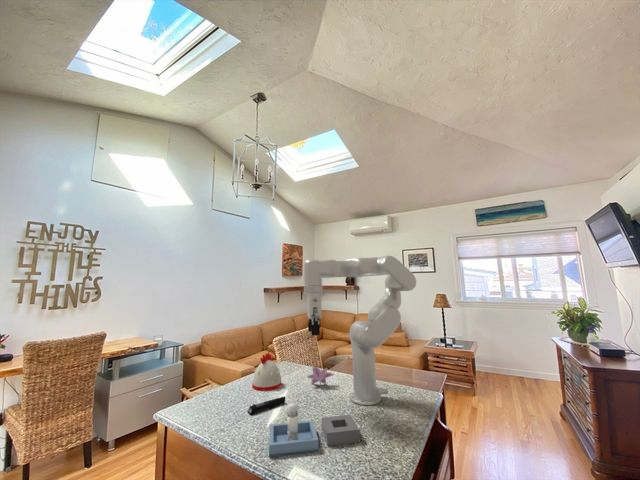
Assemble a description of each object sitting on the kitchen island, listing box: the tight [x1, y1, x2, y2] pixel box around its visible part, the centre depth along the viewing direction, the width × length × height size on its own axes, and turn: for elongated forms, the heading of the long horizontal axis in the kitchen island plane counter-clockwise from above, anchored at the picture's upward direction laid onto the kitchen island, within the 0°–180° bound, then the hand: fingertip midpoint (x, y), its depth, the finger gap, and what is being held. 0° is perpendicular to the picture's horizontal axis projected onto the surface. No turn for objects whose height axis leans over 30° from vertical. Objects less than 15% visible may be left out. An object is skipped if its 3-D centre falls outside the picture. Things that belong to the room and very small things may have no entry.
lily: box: [306, 366, 335, 391], centre depth 129 cm, size 12×12×10 cm
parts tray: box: [268, 419, 319, 458], centre depth 83 cm, size 14×12×3 cm
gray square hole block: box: [320, 414, 360, 447], centre depth 87 cm, size 10×10×4 cm
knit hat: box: [251, 352, 282, 392], centre depth 133 cm, size 14×14×15 cm
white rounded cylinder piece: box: [286, 402, 299, 441], centre depth 84 cm, size 3×3×10 cm
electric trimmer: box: [247, 396, 286, 416], centre depth 108 cm, size 4×16×3 cm, turn 127°
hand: (313, 333), depth 110 cm, fingers open, 9 cm apart
